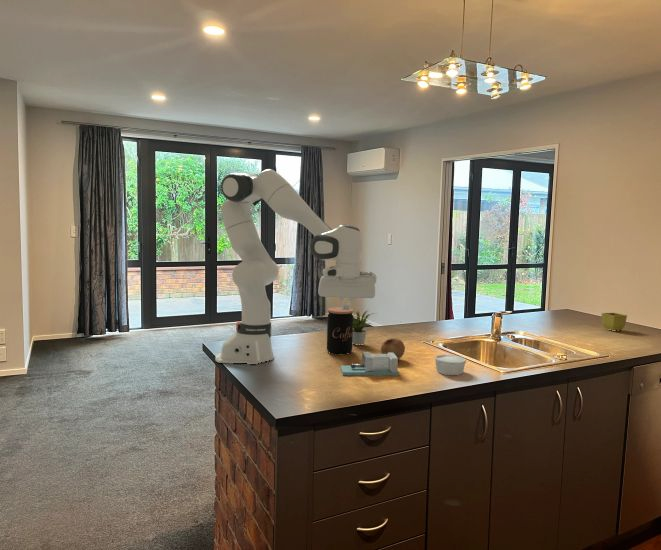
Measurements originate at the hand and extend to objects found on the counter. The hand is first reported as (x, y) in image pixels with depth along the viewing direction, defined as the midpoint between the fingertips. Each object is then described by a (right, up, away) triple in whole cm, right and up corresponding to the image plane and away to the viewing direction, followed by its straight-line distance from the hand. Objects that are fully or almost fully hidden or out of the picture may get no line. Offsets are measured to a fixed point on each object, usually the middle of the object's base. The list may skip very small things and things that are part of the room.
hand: (345, 309), depth 174 cm
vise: (+9, -23, +3) cm, 25 cm away
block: (+13, -22, +3) cm, 25 cm away
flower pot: (+146, -18, +88) cm, 171 cm away
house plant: (+8, -19, +44) cm, 49 cm away
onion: (+19, -22, +20) cm, 35 cm away
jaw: (+6, -21, +3) cm, 22 cm away
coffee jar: (-2, -20, +30) cm, 36 cm away
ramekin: (+38, -24, +6) cm, 46 cm away
